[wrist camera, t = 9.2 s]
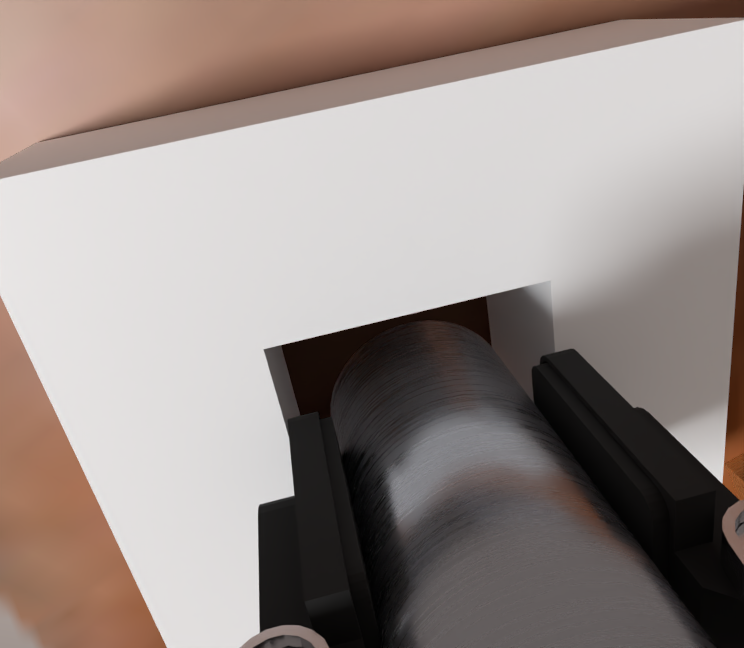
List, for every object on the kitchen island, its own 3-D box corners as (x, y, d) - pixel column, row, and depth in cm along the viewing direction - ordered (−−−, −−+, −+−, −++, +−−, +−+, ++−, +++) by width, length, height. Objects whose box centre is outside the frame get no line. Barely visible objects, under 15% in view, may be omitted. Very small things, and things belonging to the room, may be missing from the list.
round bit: (497, 301, 12) (839, 681, 5) (513, 452, 14) (791, 904, 7) (312, 345, 12) (402, 811, 5) (349, 494, 14) (459, 1012, 7)
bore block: (621, 19, 14) (755, 17, 10) (626, 473, 19) (715, 579, 15) (35, 143, 13) (-50, 189, 9) (213, 584, 18) (203, 724, 14)
